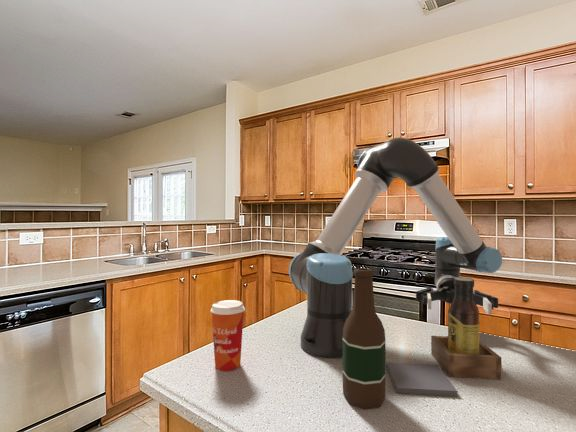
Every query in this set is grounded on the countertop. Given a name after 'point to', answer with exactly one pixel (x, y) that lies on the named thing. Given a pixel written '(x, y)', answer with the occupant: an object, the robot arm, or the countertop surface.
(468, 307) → the sauce bottle
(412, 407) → the countertop surface
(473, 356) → the collar
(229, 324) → the paper cup
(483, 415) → the countertop surface
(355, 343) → the beer bottle
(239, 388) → the countertop surface
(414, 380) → the rubber mat
